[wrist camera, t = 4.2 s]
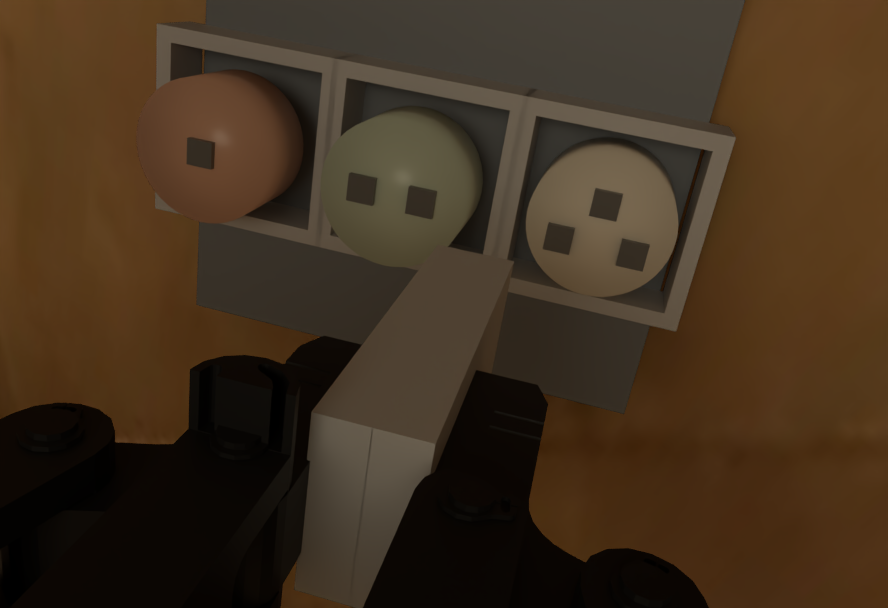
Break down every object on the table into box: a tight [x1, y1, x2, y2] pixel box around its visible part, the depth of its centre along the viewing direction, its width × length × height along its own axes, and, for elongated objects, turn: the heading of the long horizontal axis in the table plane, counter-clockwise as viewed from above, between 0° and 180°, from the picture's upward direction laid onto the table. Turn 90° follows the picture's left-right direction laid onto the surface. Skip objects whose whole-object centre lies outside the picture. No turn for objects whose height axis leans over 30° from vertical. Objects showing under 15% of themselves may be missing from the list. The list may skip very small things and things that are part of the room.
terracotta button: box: [137, 69, 304, 224], centre depth 25 cm, size 4×4×3 cm
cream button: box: [526, 137, 678, 297], centre depth 24 cm, size 4×4×3 cm
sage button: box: [320, 106, 483, 267], centre depth 24 cm, size 4×4×3 cm
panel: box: [155, 0, 745, 414], centre depth 27 cm, size 18×15×4 cm
